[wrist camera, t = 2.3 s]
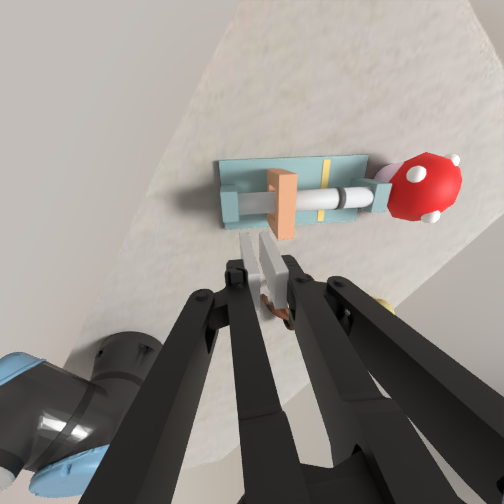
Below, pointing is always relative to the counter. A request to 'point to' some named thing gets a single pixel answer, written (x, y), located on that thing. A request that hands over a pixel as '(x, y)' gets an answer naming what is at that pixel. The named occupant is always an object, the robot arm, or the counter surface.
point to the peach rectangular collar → (282, 202)
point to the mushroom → (422, 186)
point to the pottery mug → (279, 313)
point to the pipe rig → (300, 190)
